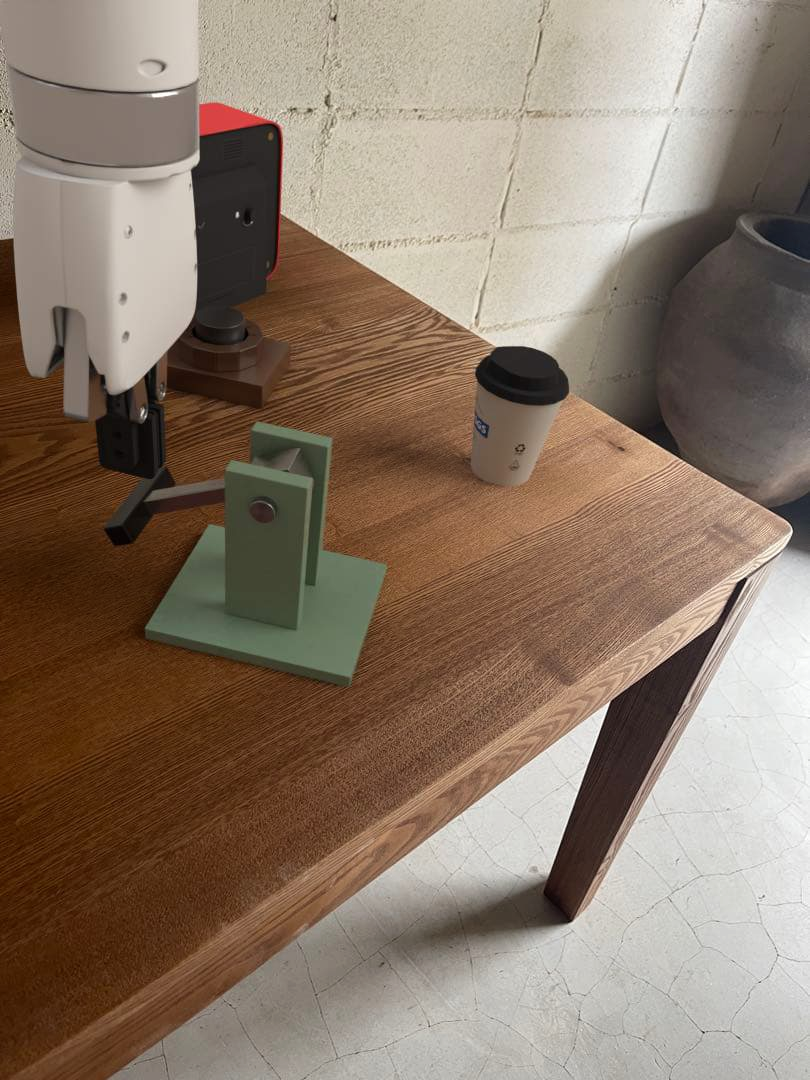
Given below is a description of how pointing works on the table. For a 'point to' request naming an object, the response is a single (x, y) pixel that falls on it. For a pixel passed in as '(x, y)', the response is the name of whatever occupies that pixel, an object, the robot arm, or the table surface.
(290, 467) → the lever
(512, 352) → the coffee cup
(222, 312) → the button
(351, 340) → the table surface
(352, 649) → the bracket
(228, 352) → the button box
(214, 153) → the alarm clock
